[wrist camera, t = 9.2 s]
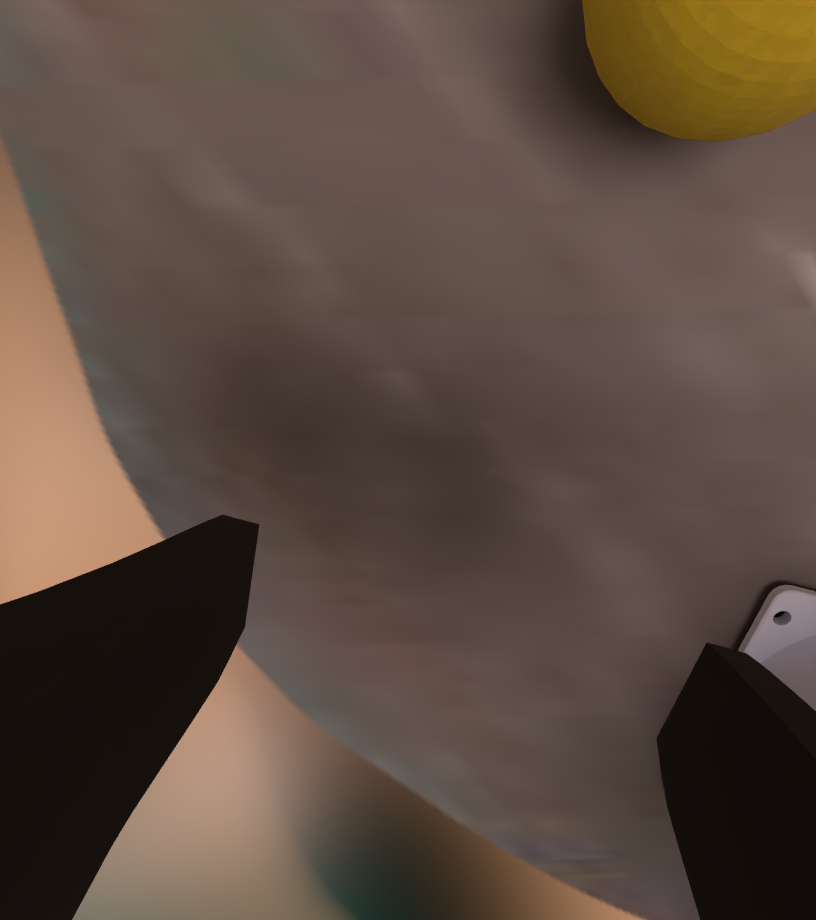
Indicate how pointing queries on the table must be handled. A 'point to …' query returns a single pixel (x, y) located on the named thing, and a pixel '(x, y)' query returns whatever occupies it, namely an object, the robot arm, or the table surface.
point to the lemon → (706, 63)
